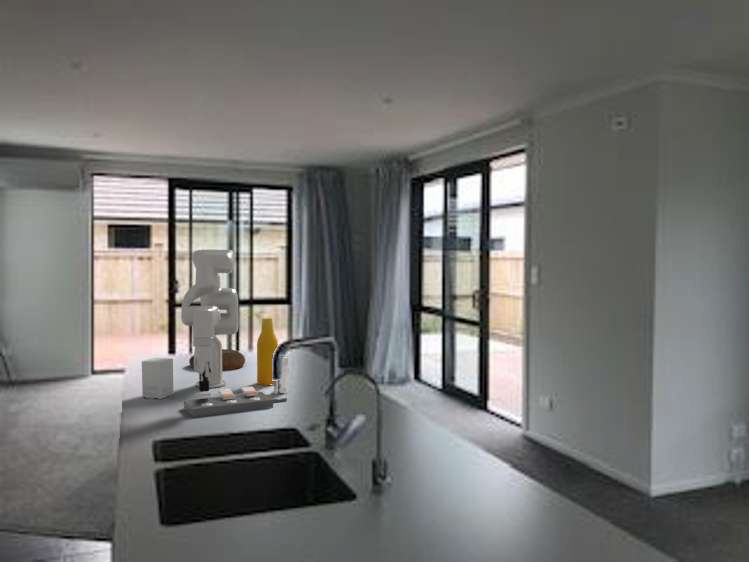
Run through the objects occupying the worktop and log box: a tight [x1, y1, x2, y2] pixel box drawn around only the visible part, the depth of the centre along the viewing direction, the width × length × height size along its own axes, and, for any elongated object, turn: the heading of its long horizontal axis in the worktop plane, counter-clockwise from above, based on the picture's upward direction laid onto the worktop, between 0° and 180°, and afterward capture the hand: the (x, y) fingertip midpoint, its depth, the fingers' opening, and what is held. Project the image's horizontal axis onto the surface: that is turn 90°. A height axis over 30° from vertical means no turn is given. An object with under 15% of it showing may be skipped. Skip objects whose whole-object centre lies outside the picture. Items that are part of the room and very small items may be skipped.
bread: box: [188, 348, 246, 372], centre depth 317 cm, size 28×27×9 cm
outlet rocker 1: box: [218, 387, 236, 400], centre depth 238 cm, size 7×4×1 cm, turn 29°
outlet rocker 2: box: [240, 386, 259, 396], centre depth 242 cm, size 7×4×1 cm, turn 29°
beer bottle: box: [256, 317, 279, 386], centre depth 277 cm, size 9×9×29 cm
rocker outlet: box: [194, 393, 212, 399], centre depth 234 cm, size 7×4×1 cm, turn 29°
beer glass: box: [272, 355, 290, 394], centre depth 261 cm, size 7×7×15 cm
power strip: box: [183, 391, 288, 418], centre depth 238 cm, size 14×38×4 cm, turn 119°
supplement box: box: [141, 357, 174, 400], centre depth 253 cm, size 9×9×15 cm
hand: (204, 390), depth 231 cm, fingers closed
